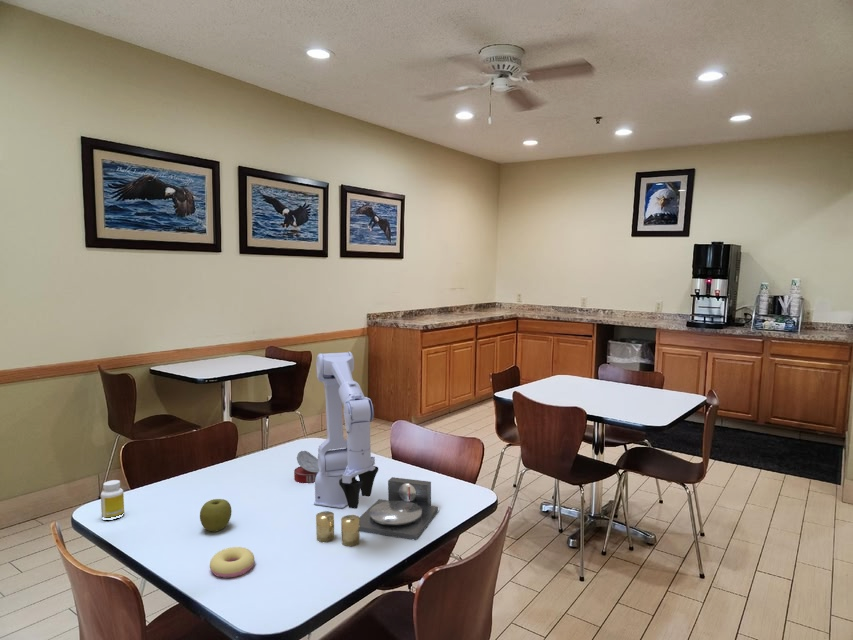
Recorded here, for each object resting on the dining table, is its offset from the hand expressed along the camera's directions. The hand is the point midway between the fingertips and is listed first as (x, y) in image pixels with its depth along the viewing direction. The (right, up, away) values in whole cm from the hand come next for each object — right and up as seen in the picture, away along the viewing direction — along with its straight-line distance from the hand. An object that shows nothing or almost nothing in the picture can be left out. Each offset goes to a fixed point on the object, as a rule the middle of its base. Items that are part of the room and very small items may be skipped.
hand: (359, 501), depth 135 cm
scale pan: (+8, -7, +11) cm, 16 cm away
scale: (+9, -9, +13) cm, 18 cm away
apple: (-38, -10, +7) cm, 40 cm away
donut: (-27, -11, -13) cm, 32 cm away
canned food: (-22, -7, +44) cm, 49 cm away
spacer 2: (-2, -10, -1) cm, 10 cm away
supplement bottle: (-70, -9, +14) cm, 72 cm away
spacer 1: (-9, -10, +1) cm, 13 cm away
